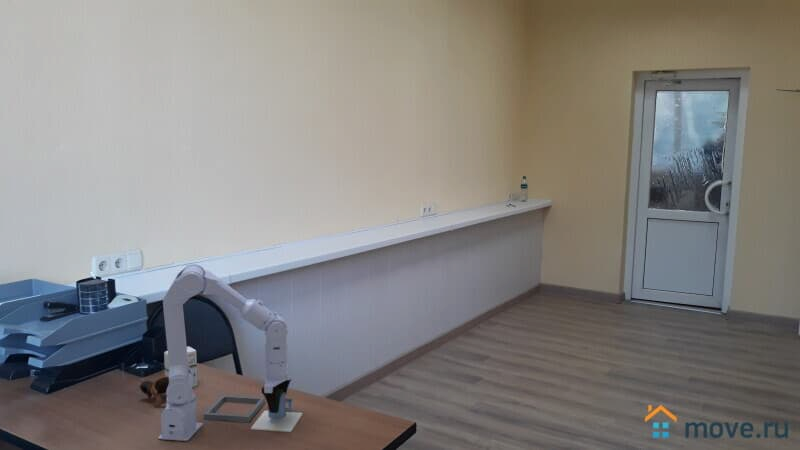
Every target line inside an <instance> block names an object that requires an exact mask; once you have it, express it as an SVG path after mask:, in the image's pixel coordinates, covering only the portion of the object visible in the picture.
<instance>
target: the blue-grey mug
mask: <svg viewBox="0 0 800 450" xmlns="http://www.w3.org/2000/svg"><path fill="white" fill-rule="evenodd" d="M287 403H288V408H287ZM293 407H294V406H293V398H287V393H285V392H282V394H281V397H280V403H279V410H278V413H270V411H269V407H268V406H267V411H268V417H269V418H271V419H281V418H284V417H285V416H286V412H294V411H293Z"/></svg>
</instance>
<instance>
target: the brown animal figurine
mask: <svg viewBox="0 0 800 450" xmlns="http://www.w3.org/2000/svg"><path fill="white" fill-rule="evenodd" d="M168 385H169V376H165V375H163V376H160V377H157V378H156V379H154V381H150V380H143V381H141V382H140V385H139V388H140V390H141V392H142V393H143V394H145V396H147V399H151V398H152V397H153V398H154V399H155V400H154V401H155V402H154V406H155V407H156V408H157V407H158V408H160V407H161V406H162V405H166V404H167V395H166V390H167V388H168Z"/></svg>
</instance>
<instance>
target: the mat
mask: <svg viewBox="0 0 800 450" xmlns="http://www.w3.org/2000/svg"><path fill="white" fill-rule="evenodd" d="M302 416H303V412H295V411H292V412H286V416H285V417H284V418H281V419H271V418H269V417H268V410H264V411H262V414H260V416H259V417H258V418H257V420H256V421H255V422H254V424H253V425H252V426H251V428H250V430H252V431H253V430H254V431H255V430H257V431H268V432H269V431H270V432H283V433H292V432H293V430H294V428H295V426H296V425H297V424H298V423H299V420H300V419H301V417H302Z"/></svg>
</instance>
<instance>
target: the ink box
mask: <svg viewBox="0 0 800 450" xmlns="http://www.w3.org/2000/svg"><path fill="white" fill-rule="evenodd" d="M163 354H164V355H163V356H164V357H163V359H164V361H163V362H164V376H169V359H168V350H166V351H164V352H163ZM187 355H188V362H189V366H190V370H191V372H192V373H193V375H194V384H193V387H192V388H195V387H198V369H197V368H198V365H197V364H198V363H197V361H198V360H197V350H196V349H194V348H193V347H191V346H187Z"/></svg>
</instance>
